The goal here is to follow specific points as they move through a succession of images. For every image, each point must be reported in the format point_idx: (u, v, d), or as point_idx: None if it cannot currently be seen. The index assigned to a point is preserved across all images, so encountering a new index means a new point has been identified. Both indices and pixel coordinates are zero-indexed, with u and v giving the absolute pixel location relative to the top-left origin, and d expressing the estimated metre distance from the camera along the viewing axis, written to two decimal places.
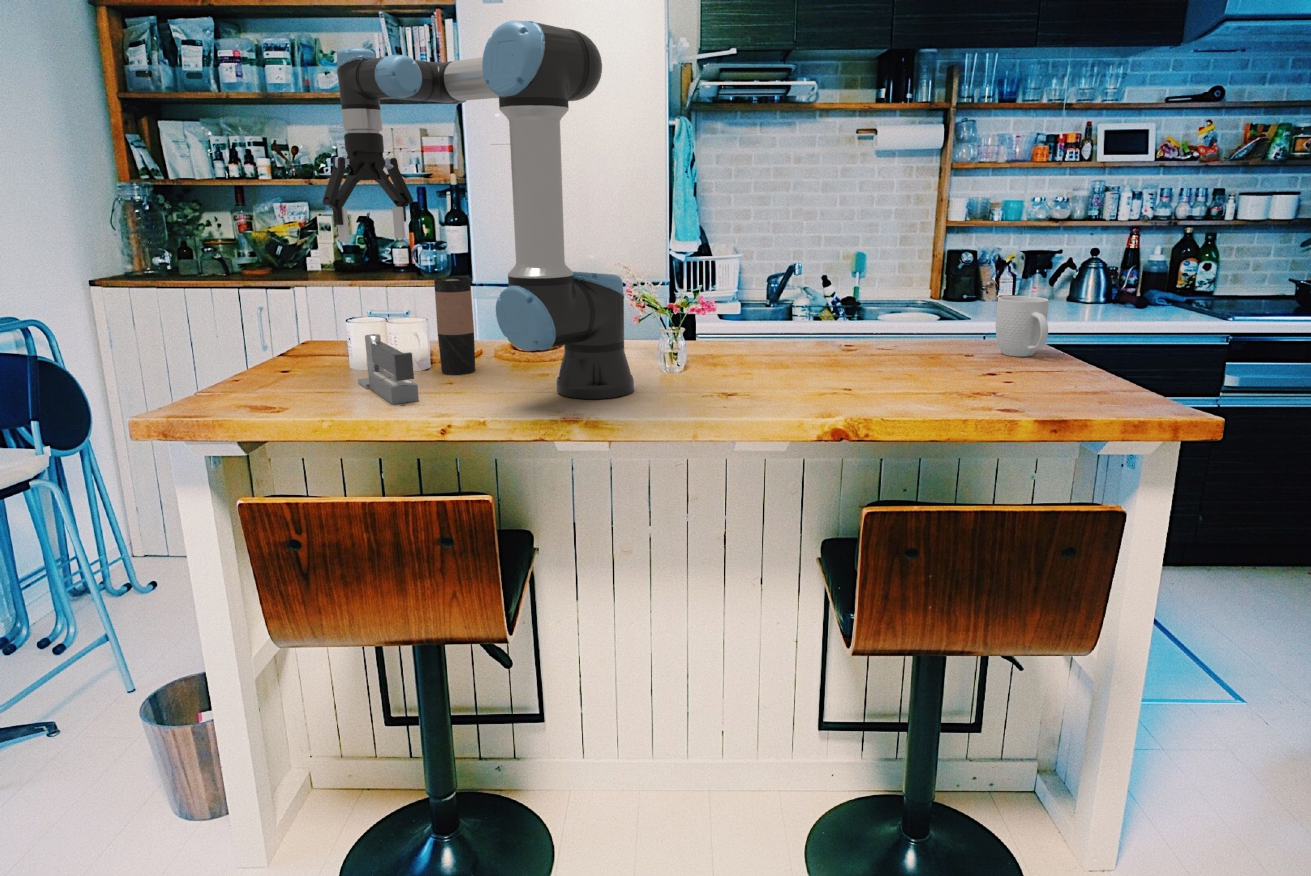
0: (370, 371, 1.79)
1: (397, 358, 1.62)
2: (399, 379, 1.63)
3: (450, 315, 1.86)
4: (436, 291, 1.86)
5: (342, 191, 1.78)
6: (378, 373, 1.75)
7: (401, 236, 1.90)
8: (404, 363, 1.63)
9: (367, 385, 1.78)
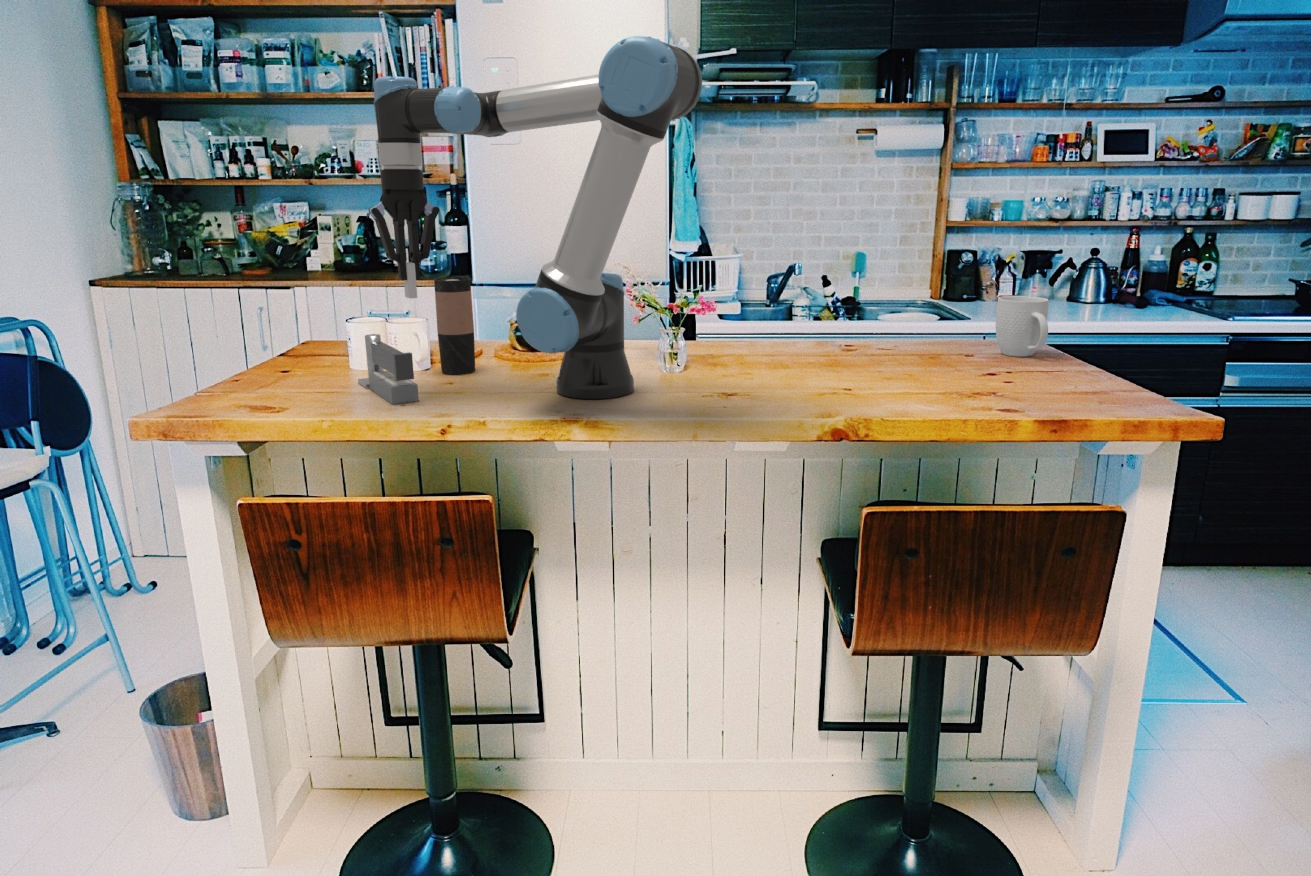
0: (370, 371, 1.79)
1: (397, 358, 1.62)
2: (399, 379, 1.63)
3: (450, 315, 1.86)
4: (436, 291, 1.86)
5: (397, 243, 1.65)
6: (378, 373, 1.75)
7: (412, 295, 1.68)
8: (404, 363, 1.63)
9: (367, 385, 1.78)
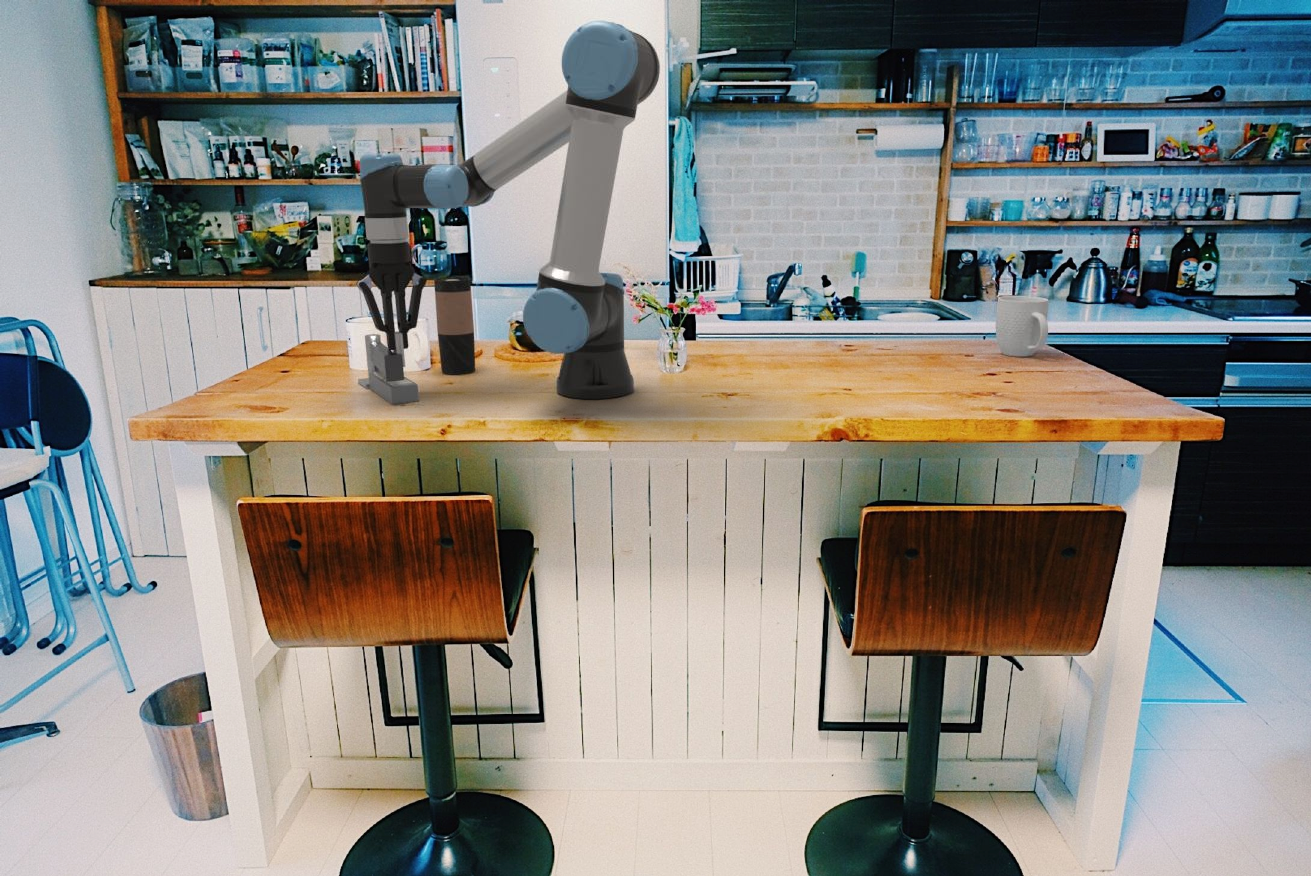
0: (370, 371, 1.79)
1: (387, 359, 1.61)
2: (389, 380, 1.62)
3: (450, 315, 1.86)
4: (436, 291, 1.86)
5: (385, 314, 1.67)
6: (378, 373, 1.75)
7: None
8: (394, 364, 1.62)
9: (367, 385, 1.78)
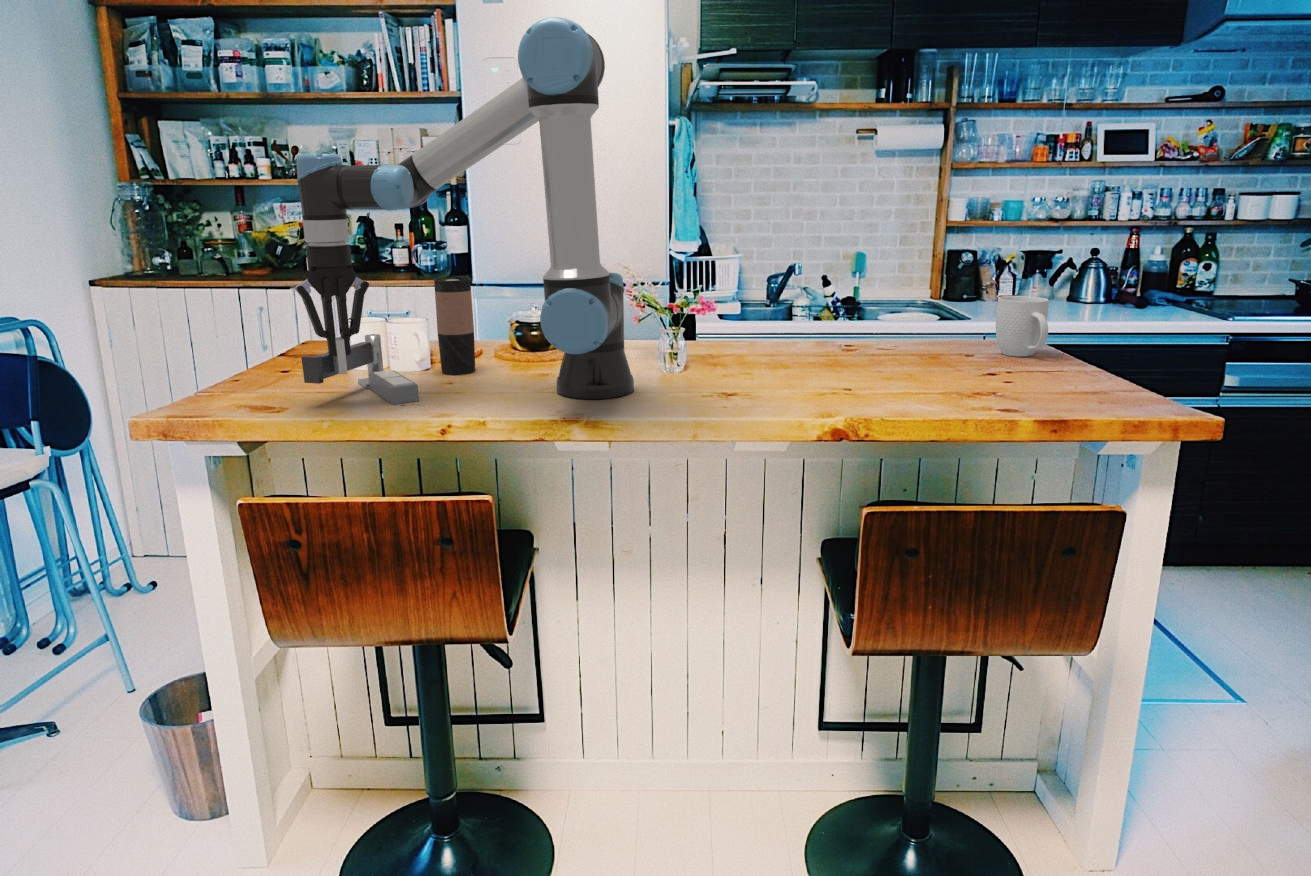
0: (370, 371, 1.79)
1: (304, 360, 1.61)
2: (306, 381, 1.62)
3: (450, 315, 1.86)
4: (436, 291, 1.86)
5: (325, 319, 1.62)
6: (378, 373, 1.75)
7: (342, 371, 1.65)
8: (310, 366, 1.61)
9: (367, 385, 1.78)
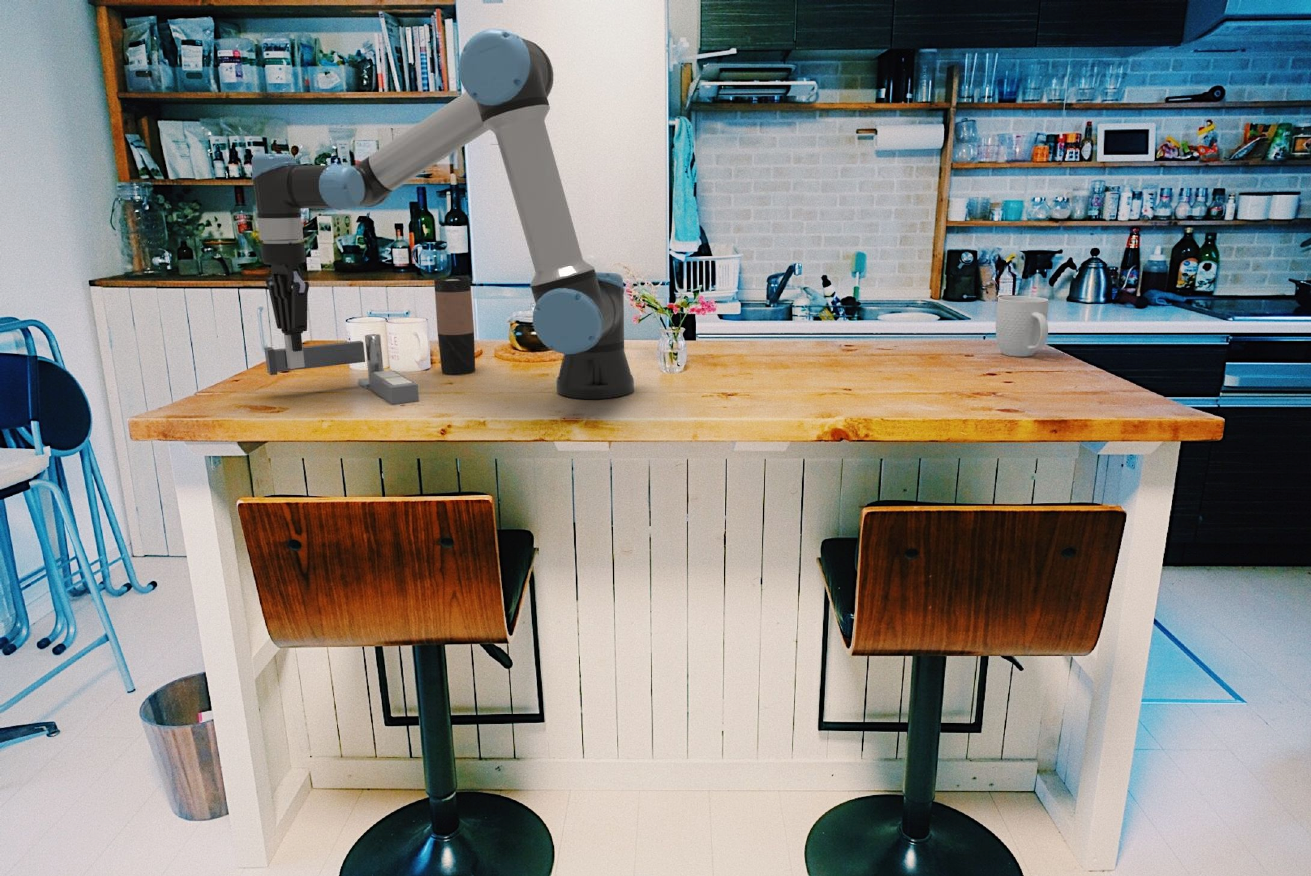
0: (370, 371, 1.79)
1: (265, 351, 1.69)
2: (267, 371, 1.70)
3: (450, 315, 1.86)
4: (436, 291, 1.86)
5: None
6: (378, 373, 1.75)
7: None
8: (267, 358, 1.69)
9: (367, 385, 1.78)
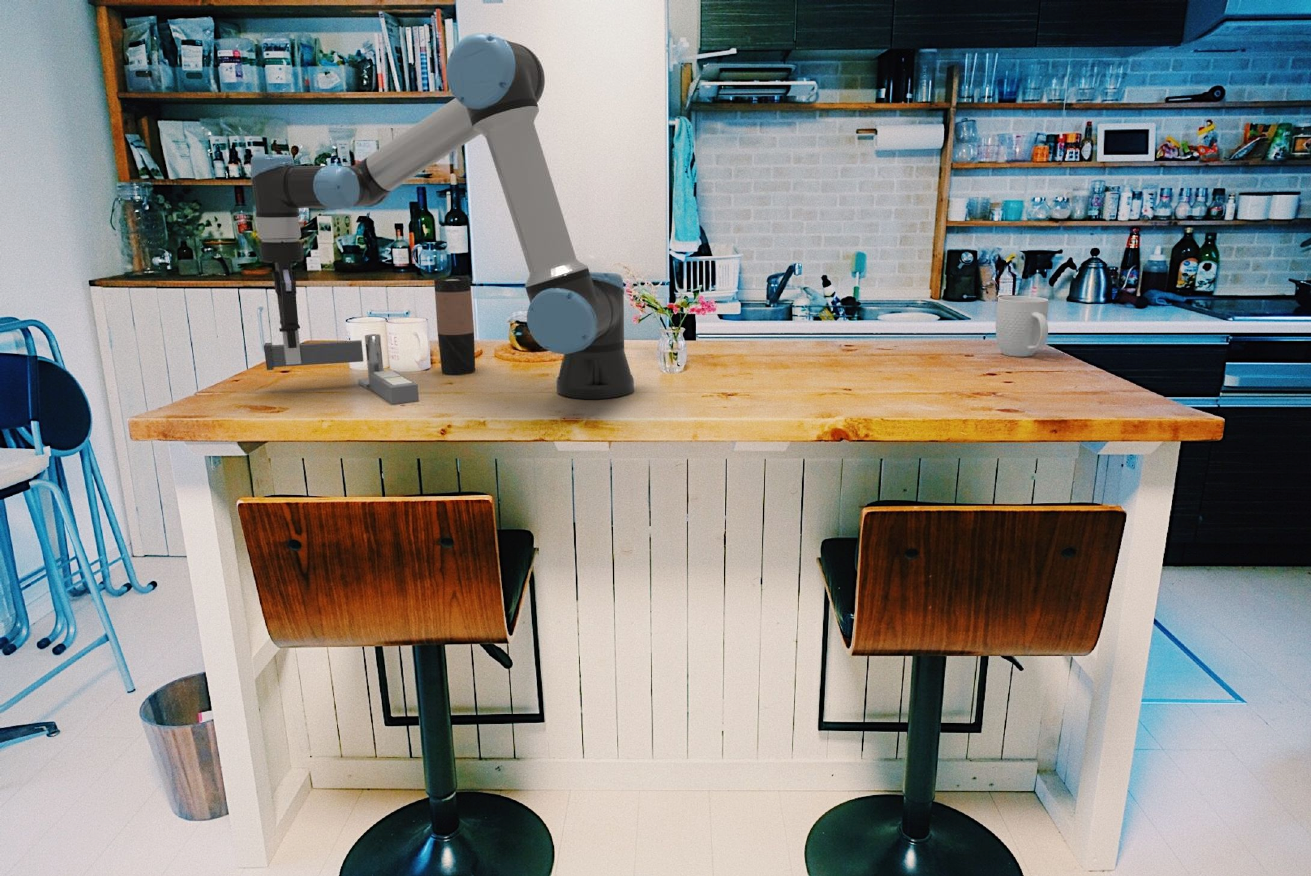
0: (370, 371, 1.79)
1: None
2: None
3: (450, 315, 1.86)
4: (436, 291, 1.86)
5: None
6: (378, 373, 1.75)
7: None
8: None
9: (367, 385, 1.78)
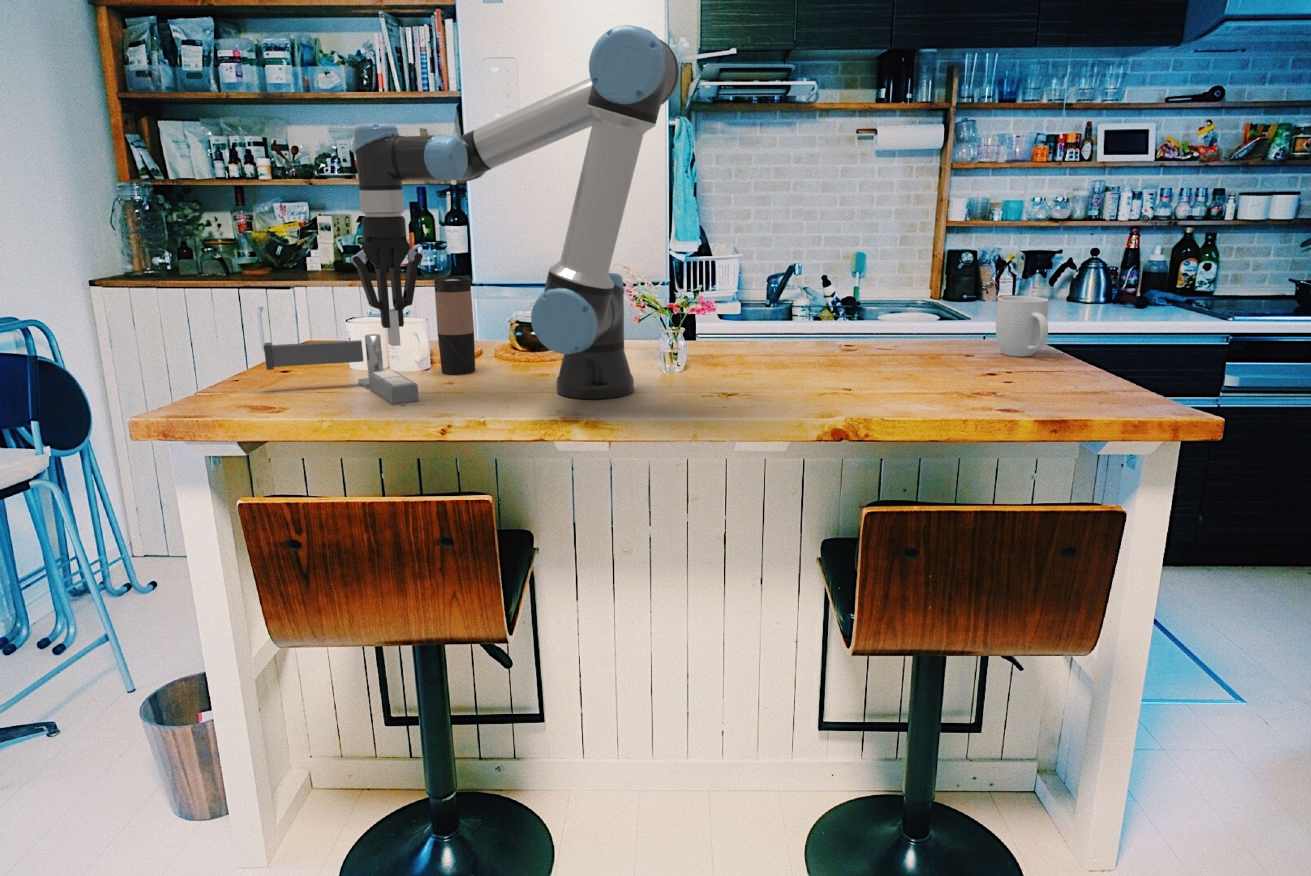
0: (370, 371, 1.79)
1: None
2: None
3: (450, 315, 1.86)
4: (436, 291, 1.86)
5: (379, 291, 1.63)
6: (378, 373, 1.75)
7: (396, 343, 1.66)
8: None
9: (367, 385, 1.78)
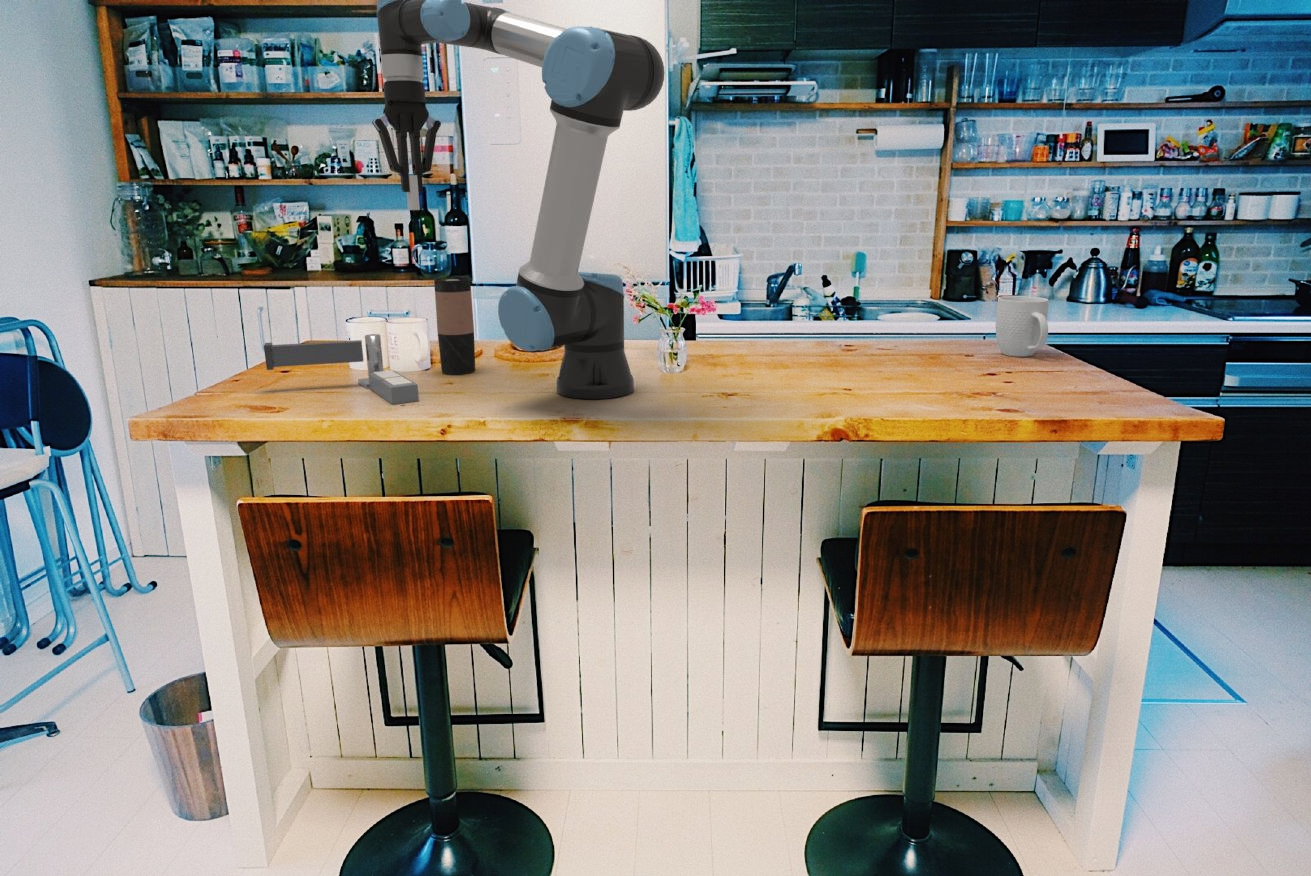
0: (370, 371, 1.79)
1: None
2: None
3: (450, 315, 1.86)
4: (436, 291, 1.86)
5: (400, 155, 1.71)
6: (378, 373, 1.75)
7: (415, 207, 1.74)
8: None
9: (367, 385, 1.78)
